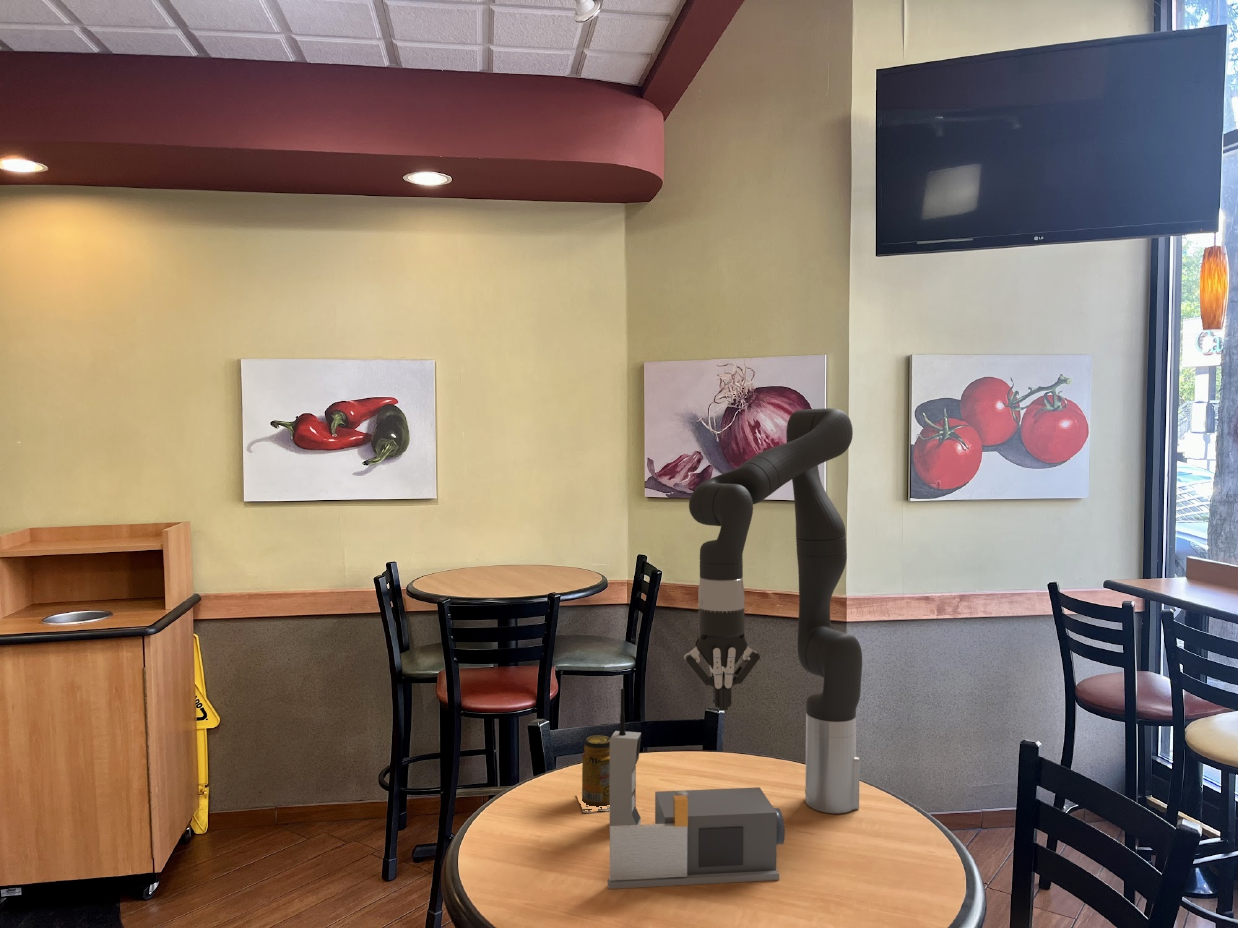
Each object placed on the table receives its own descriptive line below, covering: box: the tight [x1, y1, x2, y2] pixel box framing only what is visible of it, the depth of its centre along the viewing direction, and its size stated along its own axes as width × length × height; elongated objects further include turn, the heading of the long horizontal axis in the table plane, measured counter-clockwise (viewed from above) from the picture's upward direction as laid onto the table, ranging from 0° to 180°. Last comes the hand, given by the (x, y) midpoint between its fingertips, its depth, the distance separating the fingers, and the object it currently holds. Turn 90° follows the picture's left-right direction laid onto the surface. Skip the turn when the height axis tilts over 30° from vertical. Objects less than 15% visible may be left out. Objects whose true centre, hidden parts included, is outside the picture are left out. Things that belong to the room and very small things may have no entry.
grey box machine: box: [607, 786, 786, 890], centre depth 138 cm, size 29×12×11 cm, turn 96°
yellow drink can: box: [579, 734, 611, 814], centre depth 162 cm, size 7×8×12 cm
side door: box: [609, 795, 688, 881], centre depth 131 cm, size 12×2×12 cm, turn 96°
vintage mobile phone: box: [609, 688, 642, 827], centre depth 151 cm, size 4×5×25 cm
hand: (721, 709), depth 140 cm, fingers closed
